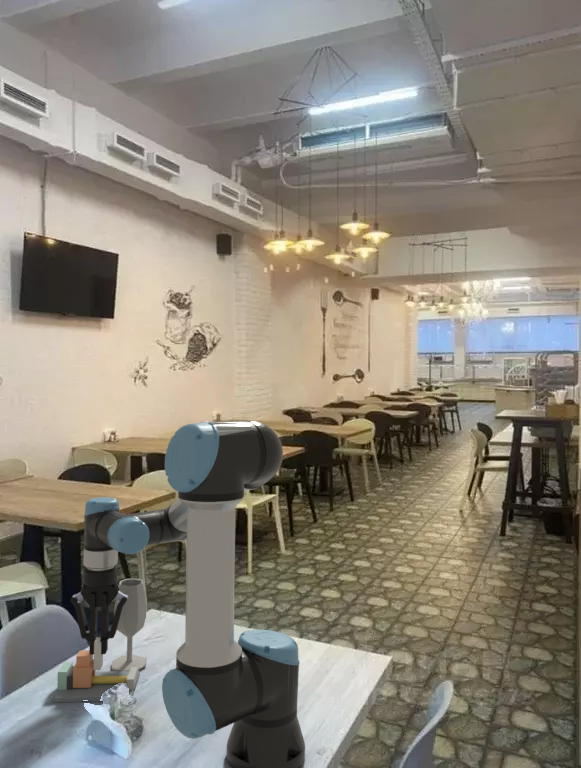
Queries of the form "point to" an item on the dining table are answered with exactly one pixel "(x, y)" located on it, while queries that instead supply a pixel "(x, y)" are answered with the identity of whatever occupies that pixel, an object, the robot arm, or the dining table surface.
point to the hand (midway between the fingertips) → (98, 667)
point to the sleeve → (83, 670)
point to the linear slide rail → (99, 684)
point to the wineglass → (131, 622)
